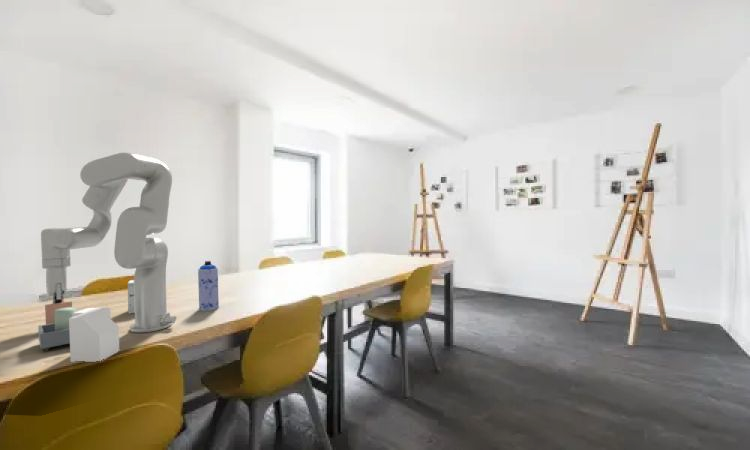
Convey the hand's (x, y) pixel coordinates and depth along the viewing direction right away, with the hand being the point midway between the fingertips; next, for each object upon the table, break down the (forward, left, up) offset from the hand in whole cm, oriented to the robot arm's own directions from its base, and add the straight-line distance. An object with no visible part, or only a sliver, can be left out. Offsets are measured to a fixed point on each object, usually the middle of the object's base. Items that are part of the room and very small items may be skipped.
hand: (58, 313), depth 127 cm
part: (-18, +15, -2) cm, 24 cm away
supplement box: (-14, -21, -5) cm, 26 cm away
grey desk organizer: (-12, +10, -4) cm, 17 cm away
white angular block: (-34, +23, -5) cm, 41 cm away
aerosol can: (-41, -26, -5) cm, 49 cm away
